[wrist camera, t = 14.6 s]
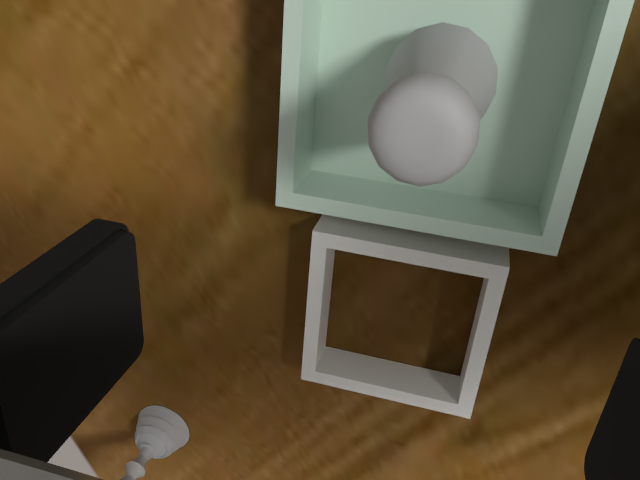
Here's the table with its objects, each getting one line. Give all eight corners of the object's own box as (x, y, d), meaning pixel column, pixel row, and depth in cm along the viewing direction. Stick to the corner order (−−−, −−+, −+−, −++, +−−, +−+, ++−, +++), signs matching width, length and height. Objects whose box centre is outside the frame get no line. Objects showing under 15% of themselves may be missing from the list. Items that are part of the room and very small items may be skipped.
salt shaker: (463, 139, 35) (450, 237, 23) (375, 96, 35) (320, 172, 24) (518, 44, 32) (532, 104, 20) (421, -2, 32) (382, 31, 21)
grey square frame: (508, 244, 37) (509, 267, 35) (471, 389, 43) (470, 418, 40) (324, 211, 40) (312, 230, 37) (311, 353, 45) (300, 379, 43)
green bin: (635, -77, 28) (658, -79, 25) (549, 221, 36) (556, 256, 32) (313, -102, 31) (288, -107, 28) (297, 178, 39) (275, 205, 35)
